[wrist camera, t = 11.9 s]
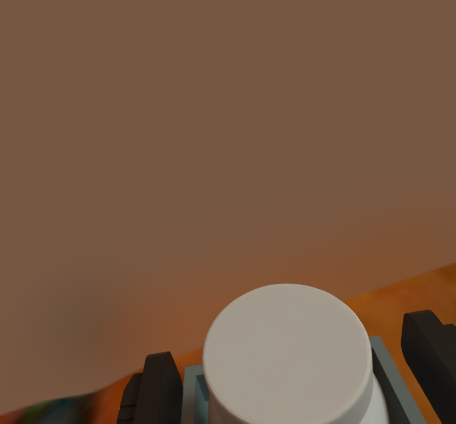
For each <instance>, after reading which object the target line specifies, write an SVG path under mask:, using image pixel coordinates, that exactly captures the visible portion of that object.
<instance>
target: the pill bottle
mask: <svg viewBox="0 0 456 424" xmlns="http://www.w3.org/2000/svg"><path fill="white" fill-rule="evenodd" d="M202 366H203V373H204V377H205V381H206V384H207V387H208V390H209V393H210V396H209V404H208V422H209V424H390V422H389V414H388V408H387V404H386V400H385V397H384V394H383V391H382V389H381V386H380V384H379V382H378V380H377V378H376V377H375V375H374V373H373V366H372V351H371V345H370V341H369V338H368V335H367V333H366V331H365V328H364V326H363V325H362V323H361V321H360V320H359V318H358V317H357V316H356V314H355V313H354V312H353V311H352V310H351V309H350V308H349V307H348V306H347V305H346V304H344V303H343V302H342V301H340V300H339V299H337V298H336V297H334V296H333V295H331V294H329V293H327V292H325V291H322V290H320V289H316V288H314V287H310V286H305V285H299V284H275V285H270V286H264V287H261V288H258V289H255V290H252V291H250V292H248V293H246V294H244V295H242V296H240V297H239V298H237V299H235V300H234V301H233V302H231V303H230V304H229V305H227V306H226V308H225V309H223V310H222V312H221V313H220V314H219V315H218V316H217V318H216V319H215V320H214V322H213V324H212V325H211V327H210V329H209V331H208V333H207V336H206V338H205V342H204V346H203V353H202Z"/></svg>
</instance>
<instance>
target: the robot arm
mask: <svg viewBox="0 0 456 424" xmlns="http://www.w3.org/2000/svg"><path fill="white" fill-rule="evenodd" d="M401 348H402V352H403V355H404V358H405V360H406V362H407V364H408V366H409V367H410V369H411V371H412V373H413V374H414V376H415V378H416V379H417V381H418V383H419V385H420V386H421V388H422V390H423V392H424V393H425V395H426V397H427V398H428V400H429V402H430V404H431V405H432V407H433V409H434V410H435V412H436V414H437V416H438V417H439V419H440V421H441V423H442V424H456V326H455V325H453V324H447V325H443V324H442V323H441V322H440V320H439V319H438V318H437V316H436V315H435V314H434V313H433V312H432V311H431V310H423V311H417V312H410V313H405V314H404V318H403V327H402V337H401ZM182 401H183V387H182V380H181V377H180V374H179V372H178V369H177V367H176V365H175V362H174V360H173V357H172V355H171V353H170V352H169V351H168V352H162V353H156V354H150V355H148V356H147V357H146V360H145V365H144V370H143V373H138V374H133V376H132V378H131V379H130V381H129V383H128V384H127V386H126V388H125V389H124V392H123V397H122V401H121V405H120V410H119V414H118V418H117V424H181V414H182Z"/></svg>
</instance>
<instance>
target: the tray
mask: <svg viewBox="0 0 456 424" xmlns="http://www.w3.org/2000/svg"><path fill="white" fill-rule="evenodd" d="M369 341H370V345H371V351H372V366H373V373H374V375H375V377H376V378H377V380H378V382H379V384H380V386H381V389H382V391H383V394H384V397H385V400H386V404H387V408H388V414H389V422H390V424H427V423H426V421H425V419H424V418H423V416H422V414H421V412H420V410H419V408H418V406H417V405H416V403H415V401H414V399H413V397H412V395H411V394H410V392H409V390H408V388H407V386H406V384H405V382H404V381H403V379H402V377H401V375H400V373H399V371H398V369H397V368H396V366H395V364H394V362H393V360H392V358H391V356H390V355H389V353H388V351H387V349H386V347H385V345H384V343H383V342H382V340H381V338H380V336H375V337H369ZM209 396H210V393H209V390H208V387H207V384H206V381H205V377H204V373H203V366H202V364H200V365H193V366H187V367H185V377H184V390H183V403H182V416H181V424H209V422H208V404H209Z"/></svg>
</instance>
